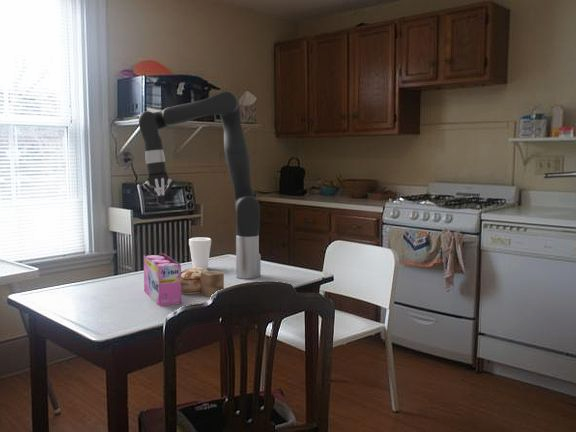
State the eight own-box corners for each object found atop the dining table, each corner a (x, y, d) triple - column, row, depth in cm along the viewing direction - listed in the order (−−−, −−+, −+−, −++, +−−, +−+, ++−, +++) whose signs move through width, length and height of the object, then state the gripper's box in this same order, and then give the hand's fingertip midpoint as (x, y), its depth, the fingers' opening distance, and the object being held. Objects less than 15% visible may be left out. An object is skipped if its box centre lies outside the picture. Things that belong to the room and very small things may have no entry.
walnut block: (215, 291, 199) (215, 270, 198) (223, 295, 194) (223, 273, 193) (201, 294, 195) (200, 272, 194) (208, 297, 190) (208, 275, 189)
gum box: (142, 289, 200) (141, 253, 199) (163, 287, 204) (163, 252, 202) (159, 306, 179) (158, 266, 178) (182, 303, 183) (181, 264, 181)
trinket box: (209, 283, 211) (208, 263, 210) (217, 292, 197) (217, 271, 196) (174, 286, 207) (174, 265, 206) (180, 296, 193) (180, 274, 192)
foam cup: (209, 270, 233) (208, 241, 231) (187, 270, 233) (187, 240, 231) (212, 266, 242) (212, 237, 241) (191, 265, 242) (191, 237, 241)
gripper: (141, 162, 210) (147, 207, 211) (174, 159, 216) (180, 202, 217) (137, 164, 216) (143, 207, 217) (169, 161, 222) (175, 203, 223)
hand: (161, 205), depth 217 cm, fingers closed
